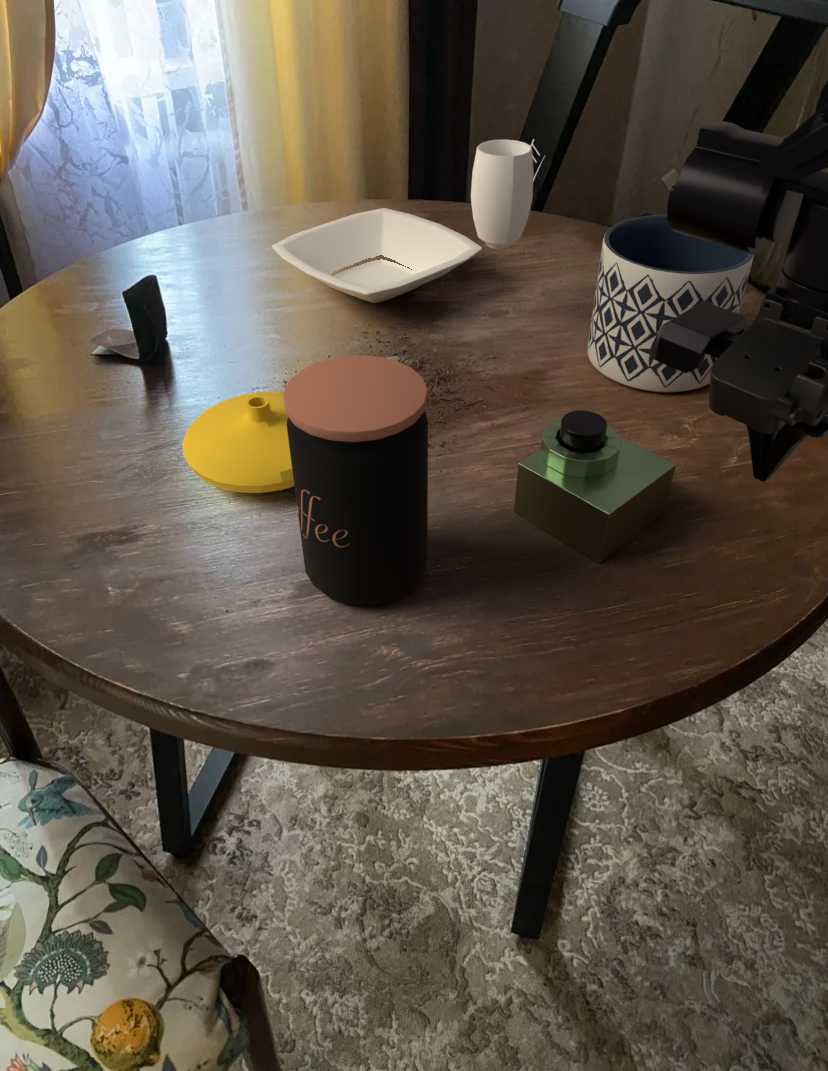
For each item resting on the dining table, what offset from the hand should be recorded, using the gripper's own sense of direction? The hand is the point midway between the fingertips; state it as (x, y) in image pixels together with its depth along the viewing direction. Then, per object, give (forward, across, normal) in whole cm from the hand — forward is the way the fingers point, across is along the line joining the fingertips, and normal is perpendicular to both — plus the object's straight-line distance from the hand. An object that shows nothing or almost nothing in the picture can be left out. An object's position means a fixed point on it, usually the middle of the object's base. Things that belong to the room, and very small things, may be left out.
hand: (761, 477), depth 61 cm
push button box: (+13, -15, +2) cm, 20 cm away
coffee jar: (+13, -24, -19) cm, 33 cm away
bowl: (+13, -65, +20) cm, 69 cm away
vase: (+13, -42, -16) cm, 47 cm away
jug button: (+6, -17, +1) cm, 18 cm away
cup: (+13, -48, +24) cm, 55 cm away
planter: (+13, -27, +30) cm, 42 cm away
